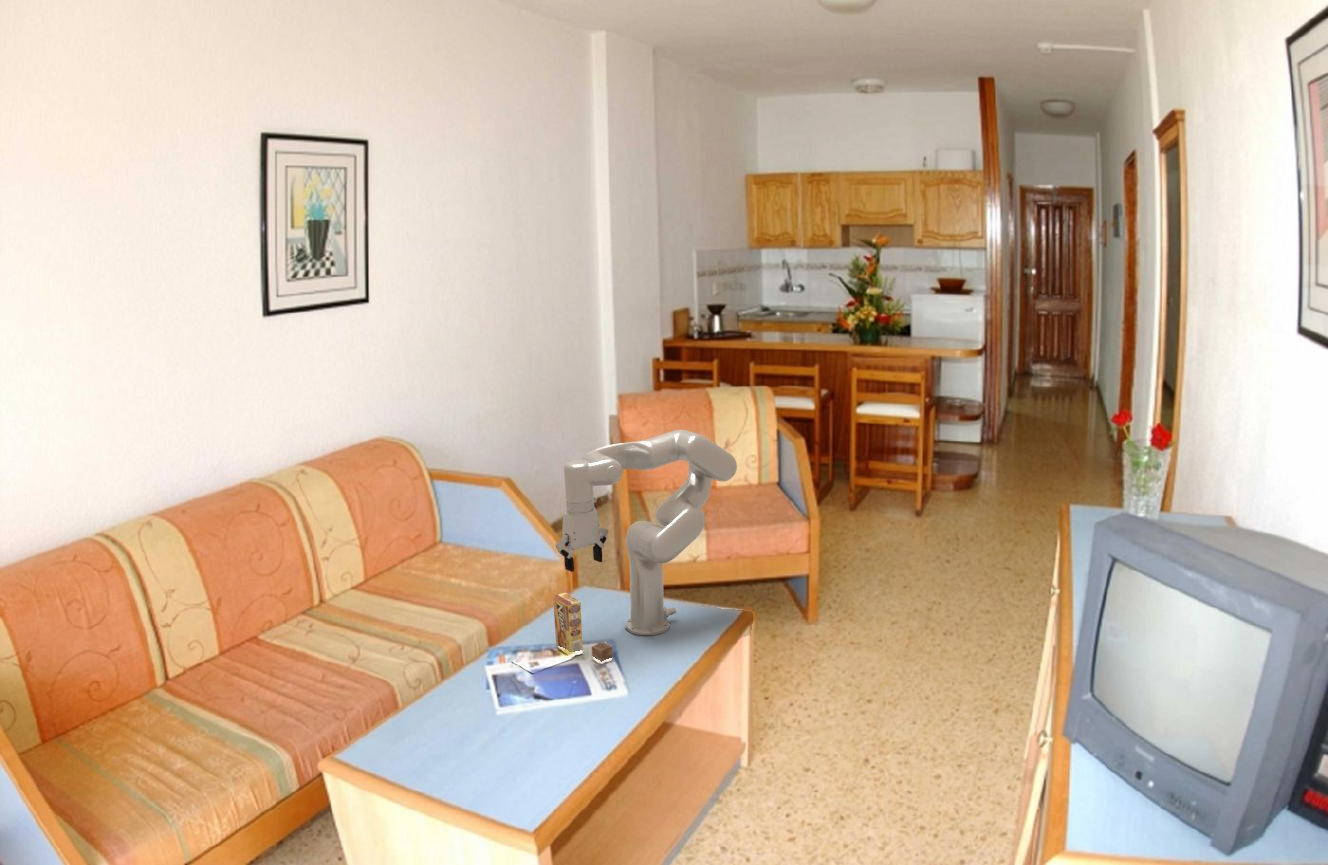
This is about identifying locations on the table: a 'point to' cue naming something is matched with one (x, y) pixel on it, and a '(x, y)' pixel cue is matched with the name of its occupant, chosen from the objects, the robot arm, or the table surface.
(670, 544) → the robot arm
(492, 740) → the table surface
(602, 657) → the tan wooden block
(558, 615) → the candy box
